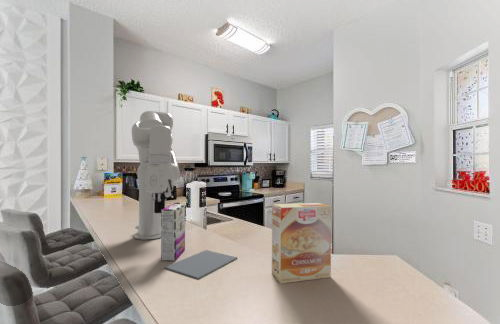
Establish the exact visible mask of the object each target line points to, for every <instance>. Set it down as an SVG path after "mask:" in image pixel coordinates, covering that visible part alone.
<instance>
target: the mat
mask: <svg viewBox="0 0 500 324" xmlns="http://www.w3.org/2000/svg"><path fill="white" fill-rule="evenodd" d="M237 259H238V257H237V256H234V255H229V254H224V253H220V252H216V251H212V250H208V249H206V250H203V251H200V252H198V253H196V254H193V255H190V256H188V257H186V258H183V259H181V260H177V261H174V262H173V263H170V264H168V265H166V266H164V269H166V270H169V271H172V272H175V273H177V274H181V275H184V276H188V277H190V278H193V279H197V280H200V279H202V278H203V277H206V276H208V275H209V274H211V273H213V272H214V271H217V270H219V269H221V268H222V267H225V266H226V265H228V264H230V263H232V262H233V261H235V260H237Z"/></svg>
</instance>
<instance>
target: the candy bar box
mask: <svg viewBox="0 0 500 324" xmlns="http://www.w3.org/2000/svg"><path fill="white" fill-rule="evenodd" d="M160 240H161V241H160V244H161V246H160V254H161V255H160V260H161V262H162V261H163V262H177V261H178V258H180V256H181V255H182V254H183V253H184V251H186V204H183V203H182V204H181V203H180V204H176V203H175V204H171V205H168V206H167V207H166V206H165V208H164V209H162V210H161V238H160Z"/></svg>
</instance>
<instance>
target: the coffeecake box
mask: <svg viewBox="0 0 500 324" xmlns="http://www.w3.org/2000/svg"><path fill="white" fill-rule="evenodd" d="M271 205H272V206H271V208H272V209H271V219H272V220H271V274H272V275H273V276H274V278H275V279H276V280H277V281H278V282H279V284H288V283H295V282H303V281H312V280H320V279H328V278H331V277H332V276H331V275H332V273H331V272H332V271H331V270H332V256H331V255H332V250H331V249H332V245H331V244H332V240H331V238H332V236H331V235H332V221H331V220H332V206H331V205H329V204H325V203H322V202H321V203H320V202H305V203H304V202H299V203H296V202H295V203H272V204H271Z"/></svg>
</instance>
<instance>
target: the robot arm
mask: <svg viewBox="0 0 500 324" xmlns="http://www.w3.org/2000/svg"><path fill="white" fill-rule="evenodd" d="M173 126H174V119H173V116H172V115H171V114H170V113H168V112H163V111H153V110H147V111H144V112H143V113H141V114H140V117H139V121H136V122H135V123H134V124H133V125H132V127H131V139H132V143H133V145H134V146H135V147H136V148H137V149H136V150H137V151H138V160H139V164H140V165H139V166H138V168H137V170H136V171H137V172H136V176H137V181H138V182H137V183H138V225H136V226H135V227H134V228H135V230H137V232H136V233H135V234H134V236H133V237H134V238H135V239H136V240H142V241H144V240H145V241H146V240H149V241H150V240H155V239H161V210H162V209H164V208H166V201H167V198H169V197H171V196H172V192H173V191H174V184H176V183H178V182H179V180H180V178H181V177H180V176H181V174H180V173H181V172H180V168H179V164H178V160H177V157H176V155H175V152H174V151H173V150H172V144H173V140H174V139H173V134H172V129H173V128H174V127H173Z"/></svg>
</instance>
